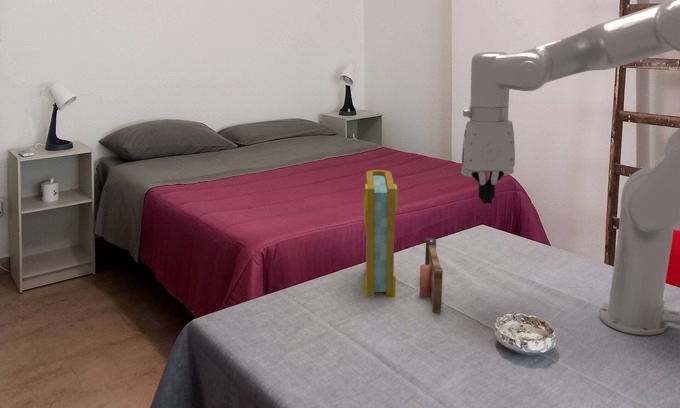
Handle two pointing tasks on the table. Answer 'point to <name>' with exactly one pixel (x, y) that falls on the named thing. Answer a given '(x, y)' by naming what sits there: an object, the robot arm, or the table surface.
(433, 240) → the gate post
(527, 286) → the table surface
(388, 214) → the book
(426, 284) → the post
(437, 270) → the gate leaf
